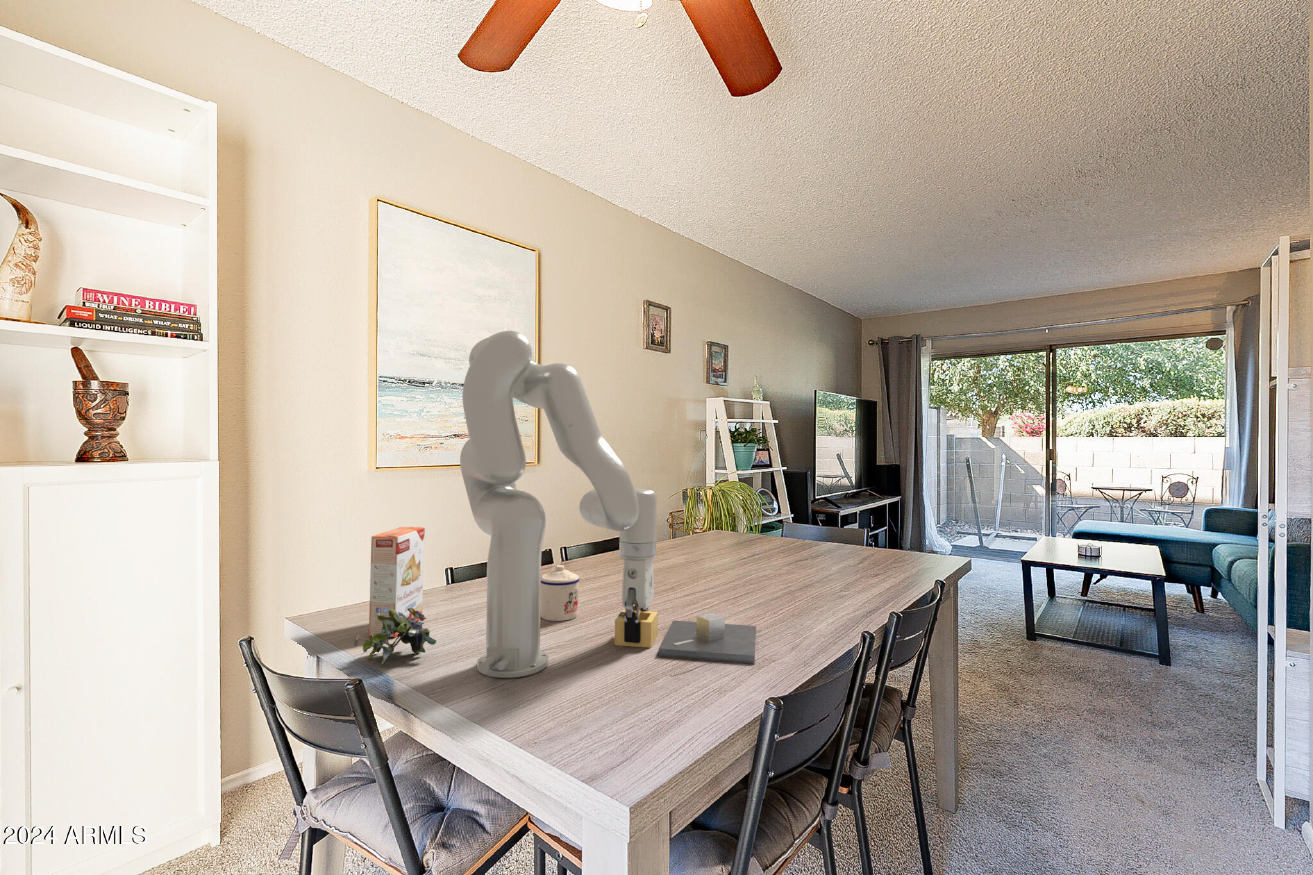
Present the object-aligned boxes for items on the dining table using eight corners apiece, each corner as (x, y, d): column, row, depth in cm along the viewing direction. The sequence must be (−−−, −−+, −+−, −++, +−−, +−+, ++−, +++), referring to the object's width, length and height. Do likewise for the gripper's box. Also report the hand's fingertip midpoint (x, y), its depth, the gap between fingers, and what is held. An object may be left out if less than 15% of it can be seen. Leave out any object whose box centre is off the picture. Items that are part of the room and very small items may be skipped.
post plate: (754, 663, 111) (754, 633, 111) (658, 656, 114) (659, 627, 114) (755, 632, 129) (756, 607, 129) (672, 627, 132) (673, 602, 132)
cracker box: (396, 638, 122) (398, 536, 122) (367, 638, 122) (368, 535, 122) (424, 618, 136) (425, 526, 136) (398, 617, 136) (399, 525, 136)
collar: (650, 647, 119) (651, 620, 119) (614, 644, 120) (614, 618, 120) (657, 635, 126) (657, 610, 126) (623, 633, 127) (623, 608, 127)
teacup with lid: (571, 623, 134) (571, 571, 134) (532, 620, 136) (533, 568, 136) (588, 608, 146) (588, 560, 146) (552, 606, 147) (553, 558, 147)
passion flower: (414, 682, 114) (451, 632, 113) (371, 694, 104) (411, 639, 103) (381, 641, 118) (416, 593, 118) (336, 648, 108) (374, 596, 107)
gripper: (647, 558, 114) (646, 651, 114) (662, 543, 131) (661, 623, 131) (609, 556, 115) (608, 648, 115) (629, 541, 132) (628, 621, 132)
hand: (636, 634), depth 123 cm, fingers open, 7 cm apart
